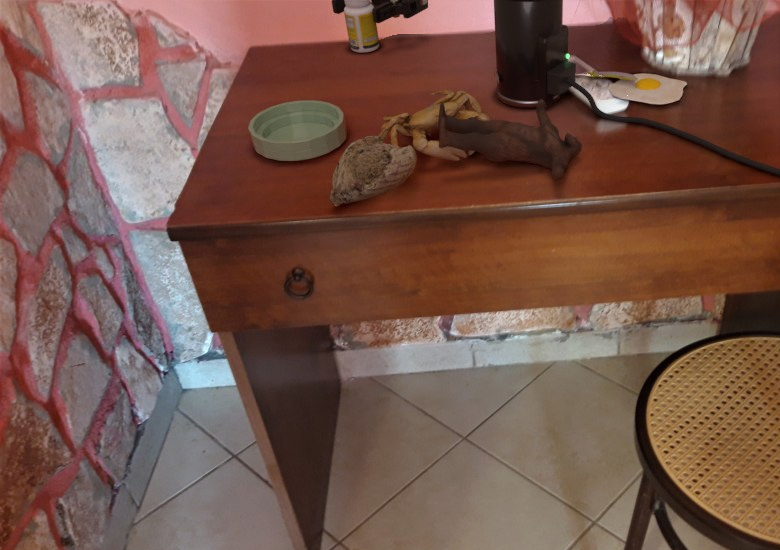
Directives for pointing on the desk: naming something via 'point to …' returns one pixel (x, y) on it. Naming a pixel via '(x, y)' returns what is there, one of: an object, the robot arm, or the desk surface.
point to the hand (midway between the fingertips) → (353, 11)
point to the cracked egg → (649, 89)
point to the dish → (298, 130)
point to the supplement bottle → (361, 26)
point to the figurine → (510, 140)
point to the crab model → (433, 124)
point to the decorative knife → (613, 75)
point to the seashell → (371, 170)
